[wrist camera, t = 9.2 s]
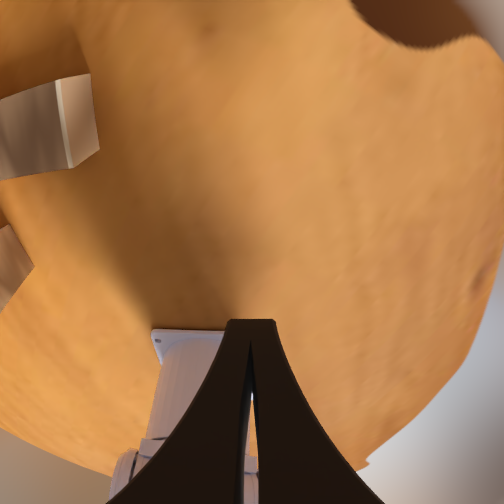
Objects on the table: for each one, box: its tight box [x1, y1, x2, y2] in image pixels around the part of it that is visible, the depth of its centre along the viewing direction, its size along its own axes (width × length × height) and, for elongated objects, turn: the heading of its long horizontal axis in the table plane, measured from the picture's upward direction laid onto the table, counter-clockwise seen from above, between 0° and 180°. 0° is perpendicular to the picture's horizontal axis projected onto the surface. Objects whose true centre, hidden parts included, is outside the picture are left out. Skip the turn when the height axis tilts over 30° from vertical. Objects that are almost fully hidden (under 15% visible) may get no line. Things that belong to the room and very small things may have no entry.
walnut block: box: [0, 73, 100, 180], centre depth 14 cm, size 4×3×8 cm
